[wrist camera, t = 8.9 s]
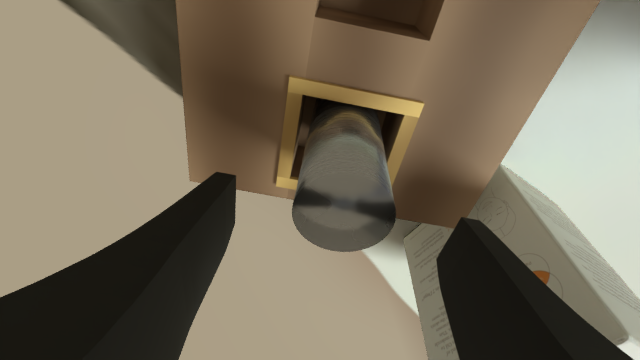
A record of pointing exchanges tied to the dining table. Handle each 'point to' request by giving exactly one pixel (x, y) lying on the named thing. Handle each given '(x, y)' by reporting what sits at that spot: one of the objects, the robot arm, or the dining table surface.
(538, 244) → the small box
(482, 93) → the board
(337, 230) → the pin
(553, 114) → the dining table surface
